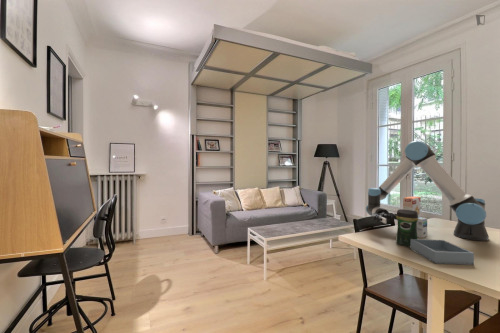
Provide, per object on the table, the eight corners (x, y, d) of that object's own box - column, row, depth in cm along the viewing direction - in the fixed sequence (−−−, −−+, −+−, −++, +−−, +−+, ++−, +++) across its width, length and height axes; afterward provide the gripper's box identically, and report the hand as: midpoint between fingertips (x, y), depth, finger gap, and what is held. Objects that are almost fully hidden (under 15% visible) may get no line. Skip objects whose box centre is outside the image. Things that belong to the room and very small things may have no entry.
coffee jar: (419, 245, 124) (419, 210, 124) (416, 249, 119) (416, 212, 119) (398, 241, 131) (398, 207, 131) (394, 244, 126) (394, 209, 125)
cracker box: (412, 231, 151) (413, 198, 151) (402, 229, 156) (402, 197, 155) (420, 227, 159) (421, 196, 159) (410, 226, 164) (410, 195, 164)
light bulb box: (427, 235, 141) (427, 217, 141) (423, 237, 137) (423, 219, 137) (407, 231, 150) (408, 214, 150) (402, 233, 146) (403, 215, 146)
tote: (443, 249, 118) (443, 239, 118) (473, 264, 100) (474, 253, 100) (410, 248, 119) (410, 238, 119) (435, 263, 101) (435, 251, 101)
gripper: (400, 219, 153) (421, 228, 132) (360, 218, 155) (375, 227, 134) (400, 208, 153) (421, 215, 132) (360, 207, 155) (375, 214, 134)
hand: (398, 221), depth 133 cm, fingers open, 13 cm apart
